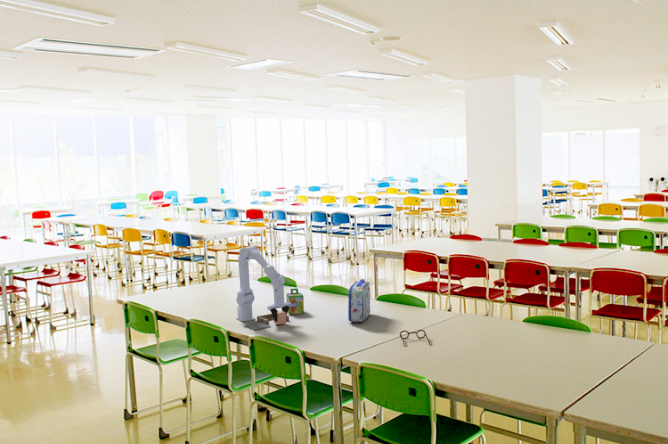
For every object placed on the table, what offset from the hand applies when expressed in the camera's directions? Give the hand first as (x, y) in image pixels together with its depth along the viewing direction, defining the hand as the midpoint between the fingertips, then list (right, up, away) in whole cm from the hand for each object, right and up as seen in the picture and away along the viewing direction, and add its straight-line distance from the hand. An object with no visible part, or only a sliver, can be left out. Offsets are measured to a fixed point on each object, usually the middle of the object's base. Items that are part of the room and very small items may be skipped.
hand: (280, 320), depth 327 cm
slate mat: (-12, -3, -3) cm, 13 cm away
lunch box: (+45, 0, +7) cm, 46 cm away
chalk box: (+7, 0, +25) cm, 26 cm away
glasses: (+71, -5, -41) cm, 82 cm away
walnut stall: (-5, -2, +7) cm, 9 cm away
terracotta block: (0, -1, 0) cm, 1 cm away
